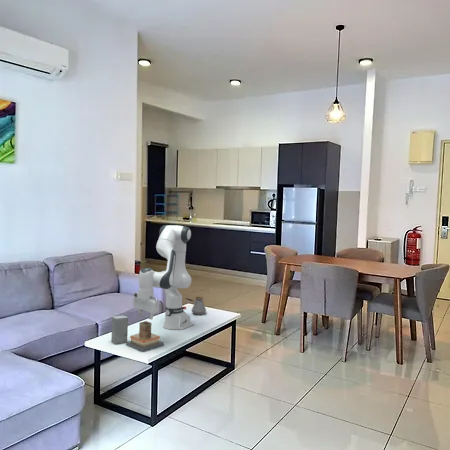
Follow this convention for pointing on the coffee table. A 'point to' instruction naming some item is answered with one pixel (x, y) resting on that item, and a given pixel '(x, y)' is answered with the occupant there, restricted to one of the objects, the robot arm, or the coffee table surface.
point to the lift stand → (144, 342)
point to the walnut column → (145, 329)
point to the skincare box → (119, 329)
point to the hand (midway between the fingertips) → (145, 317)
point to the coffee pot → (198, 306)
